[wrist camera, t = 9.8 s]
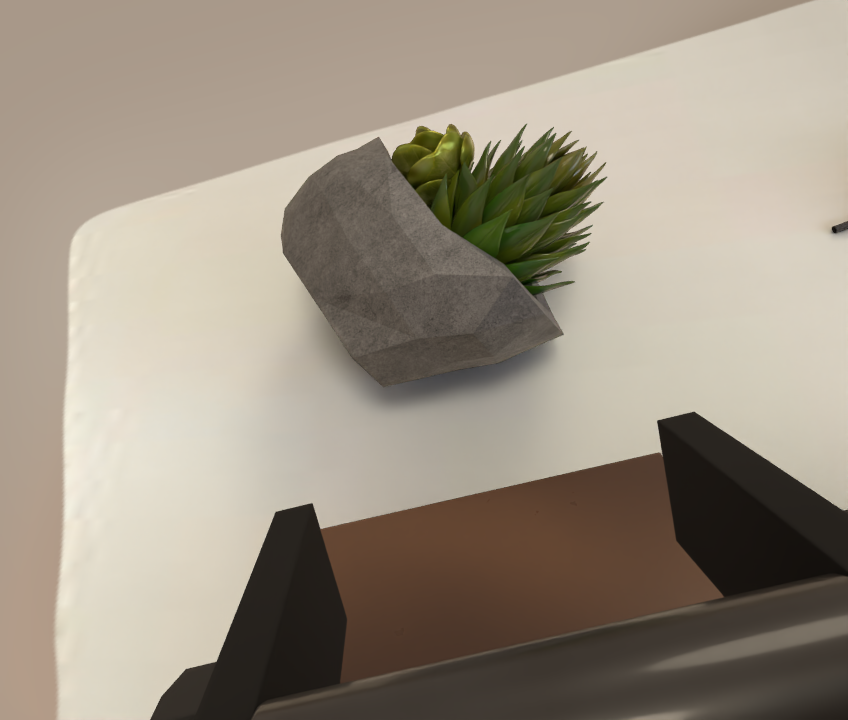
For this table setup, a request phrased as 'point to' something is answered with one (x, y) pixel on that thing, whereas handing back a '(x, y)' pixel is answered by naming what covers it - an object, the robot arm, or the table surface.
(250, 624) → the robot arm
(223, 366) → the table surface
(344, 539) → the bin lid
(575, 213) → the potted plant
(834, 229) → the gaming mouse
